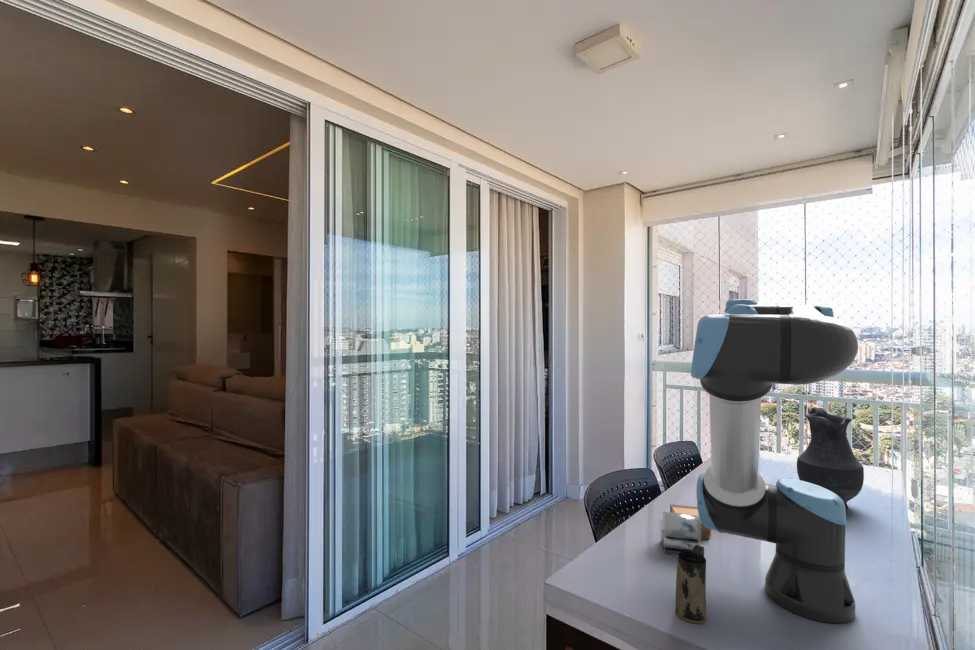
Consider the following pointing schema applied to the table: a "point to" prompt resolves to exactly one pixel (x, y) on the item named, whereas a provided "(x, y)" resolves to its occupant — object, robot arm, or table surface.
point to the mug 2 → (691, 586)
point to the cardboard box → (703, 529)
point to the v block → (676, 545)
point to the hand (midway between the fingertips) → (738, 436)
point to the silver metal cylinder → (681, 526)
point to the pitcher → (830, 456)
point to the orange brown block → (687, 512)
